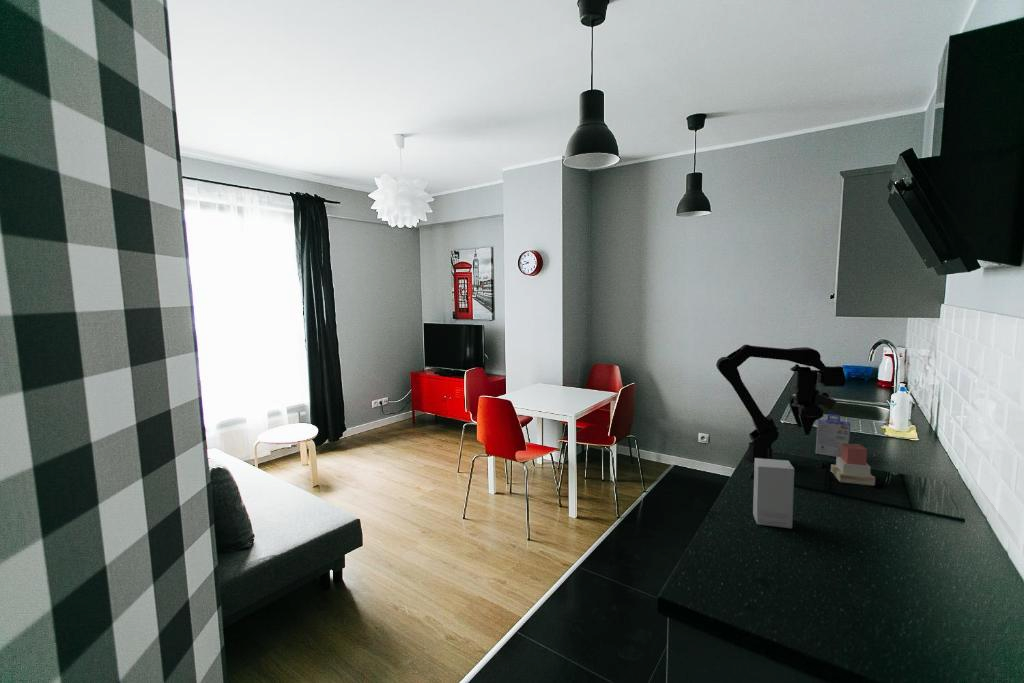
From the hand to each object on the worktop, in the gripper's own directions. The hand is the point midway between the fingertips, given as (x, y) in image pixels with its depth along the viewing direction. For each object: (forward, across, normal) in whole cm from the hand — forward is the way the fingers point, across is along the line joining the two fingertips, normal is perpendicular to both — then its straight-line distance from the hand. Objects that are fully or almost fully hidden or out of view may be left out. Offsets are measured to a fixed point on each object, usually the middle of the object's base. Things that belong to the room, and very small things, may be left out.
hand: (803, 430), depth 158 cm
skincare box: (+12, -48, +17) cm, 52 cm away
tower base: (+12, -8, -12) cm, 19 cm away
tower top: (+9, -8, -12) cm, 17 cm away
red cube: (+6, -8, -12) cm, 16 cm away
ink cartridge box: (+12, +16, -13) cm, 24 cm away
